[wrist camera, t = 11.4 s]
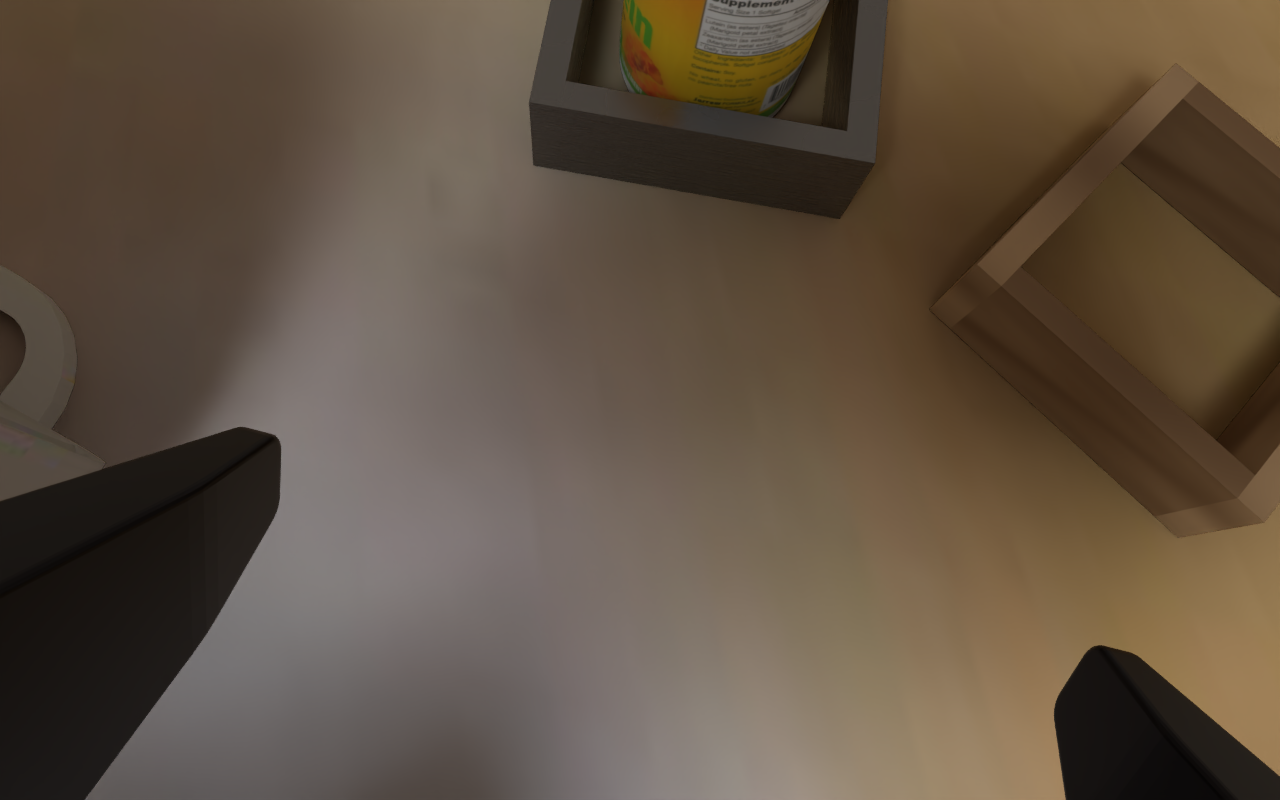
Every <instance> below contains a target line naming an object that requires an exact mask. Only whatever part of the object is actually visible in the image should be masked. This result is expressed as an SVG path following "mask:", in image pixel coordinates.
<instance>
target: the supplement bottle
mask: <svg viewBox="0 0 1280 800" xmlns="http://www.w3.org/2000/svg"><path fill="white" fill-rule="evenodd" d="M828 2H829V0H624V1H623V12H622V22H621V31H620V48H619V59H620V67H621V72H622V75H623V78H624V81H625V83H626V86H627V88H628V90H629V92H630V93H636V94H642V95H647V96H653V97H659V98H664V99H670V100H675V101H681V102H687V103H692V104H698V105H703V106H709V107H715V108H720V109H726V110H731V111H737V112H743V113H748V114H754V115H759V116H765V117H771V118H772V117H773V116H774V115H775V114H776V113H777V112H778V111H779V110H780V109H781V108H782V106H783V105H784V103H785V102H786V100H787V99H788V97H789V95H790V93H791V91H792V89H793V87H794V85H795V83H796V80H797V78H798V76H799V74H800V71H801V69H802V66H803V64H804V62H805V59H806V57H807V54H808V52H809V49H810V46H811V44H812V42H813V39H814V37H815V34H816V32H817V29H818V27H819V25H820V22H821V20H822V17H823V15H824V12H825V10H826V7H827V5H828Z"/></svg>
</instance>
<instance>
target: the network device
mask: <svg viewBox="0 0 1280 800" xmlns="http://www.w3.org/2000/svg"><path fill="white" fill-rule="evenodd" d="M0 310H1V311H3V312H4V313H6V314H8V315H10V316H11V317H12V318H14V319H15V320H16V322H17V323H18V324H19V325H20V326H21V329H22V331H23V333H24V335H25V342H26V351H25V358H24V360H23V363H22V365H21V368H20V369H19V371H18V372H17V374H16V375H15V377H14V378H13V379H12V381H11V382H10V383H9V384H8V386H7V387H6V388H5V389H4V391H3V392H2V393H1V394H0V501H2V500H5V499H8V498H11V497H15V496H18V495H21V494H24V493H28V492H31V491H34V490H37V489H40V488H44V487H47V486H50V485H53V484H57V483H60V482H63V481H66V480H69V479H73V478H76V477H79V476H82V475H86V474H89V473H92V472H95V471H98V470H101V469H102V468H103V467H104V465H105V464H106V463H105V462H104V461H103V460H102V459H100V458H99V457H97V456H96V455H94V454H93V453H91V452H90V451H88V450H86V449H85V448H83V447H81V446H80V445H78V444H76V443H74V442H73V441H71V440H69V439H67V438H66V437H64V436H62V435H60V434H59V433H57V432H55V431H53V430H52V428H53V426H54V425H55V423H56V422H57V420H58V419H59V417H60V416H61V414H62V412H63V411H64V409H65V408H66V405H67V402H68V400H69V397H70V395H71V392H72V389H73V387H74V384H75V376H76V368H77V360H78V359H77V352H76V345H75V338H74V334H73V332H72V330H71V327H70V325H69V323H68V321H67V319H66V316H65V314H64V313H63V312H62V311H61V309H60V308H59V307H58V306H57V305H56V303H55V302H54V301H53V300H52V299H51V298H50V297H49V296H48V295H46V294H45V293H44V292H42V291H41V290H39V289H38V288H37V287H35V286H34V285H32V284H31V283H30V282H28V281H27V280H25V279H24V278H22V277H21V276H19V275H17V274H16V273H14V272H12V271H10V270H9V269H7V268H5V267H3V266H1V265H0Z"/></svg>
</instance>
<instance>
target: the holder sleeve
mask: <svg viewBox="0 0 1280 800" xmlns="http://www.w3.org/2000/svg"><path fill="white" fill-rule="evenodd" d="M1120 163H1122V164H1123V165H1125V166H1126V167H1127V168H1128V169H1129V170H1131V171H1132V172H1133V173H1134V174H1135V175H1136V176H1138V177H1139V178H1140V179H1141V180H1142V181H1143V182H1145V183H1146V184H1147V185H1148V186H1149V187H1151V188H1152V189H1153V190H1154V191H1155V192H1156V193H1158V194H1159V195H1160V196H1161V197H1162V198H1163V199H1165V200H1166V201H1167V202H1168V203H1169V204H1171V205H1172V206H1173V207H1174V208H1175V209H1176V210H1178V211H1179V212H1180V213H1181V214H1182V215H1183V216H1185V217H1186V218H1187V219H1188V220H1189V221H1191V222H1192V223H1193V224H1194V225H1195V226H1196V227H1198V228H1199V229H1200V230H1201V231H1202V232H1203V233H1205V234H1206V235H1207V236H1208V237H1209V238H1211V239H1212V240H1213V241H1214V242H1215V243H1216V244H1218V245H1219V246H1220V247H1221V248H1222V249H1223V250H1225V251H1226V252H1227V253H1228V254H1229V255H1231V256H1232V257H1233V258H1234V259H1235V260H1236V261H1238V262H1239V263H1240V264H1241V265H1242V266H1243V267H1245V268H1246V269H1247V270H1248V271H1249V272H1251V273H1252V274H1253V275H1254V276H1255V277H1256V278H1258V279H1259V280H1260V281H1261V282H1262V283H1263V284H1265V285H1266V286H1267V287H1268V288H1269V289H1270V290H1272V291H1273V292H1274V293H1275V294H1276V295H1278V296H1279V297H1280V148H1279V147H1278V146H1276V145H1275V144H1274V143H1273V142H1272V141H1270V140H1269V139H1268V138H1267V137H1265V136H1264V135H1263V134H1262V133H1261V132H1259V131H1258V130H1257V129H1256V128H1254V127H1253V126H1252V125H1251V124H1250V123H1248V122H1247V121H1246V120H1245V119H1244V118H1242V117H1241V116H1240V115H1239V114H1237V113H1236V112H1235V111H1234V110H1233V109H1231V108H1230V107H1229V106H1228V105H1226V104H1225V103H1224V102H1223V101H1222V100H1220V99H1219V98H1218V97H1217V96H1215V95H1214V94H1213V93H1212V92H1211V91H1209V90H1208V89H1207V88H1206V87H1204V86H1203V85H1202V84H1201V83H1200V82H1198V81H1197V80H1196V79H1195V78H1194V77H1192V76H1191V75H1190V74H1189V73H1187V72H1186V71H1185V70H1184V69H1183V68H1181V67H1180V66H1179V65H1178V64H1175V65H1174V66H1172V67H1171V68H1170V69H1169V70H1168V71H1167V72H1166V73H1165V74H1164V75H1163V76H1162V77H1161V78H1160V79H1159V80H1158V81H1157V82H1156V83H1155V84H1154V85H1153V86H1152V87H1151V88H1149V89H1148V90H1147V91H1146V92H1145V93H1144V94H1143V95H1142V96H1141V97H1140V98H1139V99H1138V100H1137V101H1136V102H1135V103H1134V104H1133V105H1132V106H1131V107H1130V108H1129V109H1128V110H1127V111H1125V112H1124V113H1123V114H1122V115H1121V116H1120V117H1119V118H1118V119H1117V120H1116V121H1115V122H1114V123H1113V124H1112V125H1111V126H1110V127H1109V128H1108V129H1107V130H1106V131H1105V132H1104V133H1103V134H1102V135H1101V136H1100V137H1099V138H1098V139H1097V140H1096V141H1095V142H1094V143H1093V144H1092V145H1091V146H1090V147H1089V148H1088V149H1087V150H1086V151H1085V152H1084V153H1083V154H1082V155H1081V156H1080V157H1079V158H1078V159H1077V160H1076V161H1075V162H1074V163H1073V164H1072V165H1071V166H1070V167H1069V168H1068V169H1067V170H1066V171H1065V172H1064V173H1063V174H1062V175H1061V176H1060V177H1059V178H1058V179H1057V180H1056V181H1055V182H1054V183H1053V184H1052V185H1051V186H1050V187H1049V188H1048V189H1047V190H1046V191H1045V193H1044V194H1043V195H1042V196H1041V197H1040V198H1039V199H1038V200H1037V201H1036V202H1035V203H1034V204H1033V205H1032V206H1031V207H1030V208H1029V209H1028V210H1027V211H1026V212H1025V213H1024V214H1023V215H1022V216H1021V217H1020V218H1019V219H1018V220H1017V221H1016V222H1015V223H1014V224H1013V225H1012V226H1011V227H1010V228H1009V229H1008V230H1007V231H1006V232H1005V233H1004V234H1003V235H1002V236H1001V237H1000V238H999V239H998V240H997V241H996V242H995V243H994V244H993V245H992V246H991V247H990V248H989V249H988V250H987V251H986V252H985V253H984V254H983V255H982V256H981V257H980V258H979V259H978V260H977V261H976V262H975V263H974V264H973V265H972V266H971V267H970V268H969V269H968V270H967V271H966V272H965V273H964V274H963V275H962V276H961V277H960V278H959V279H958V280H957V281H956V282H955V283H954V284H953V285H952V286H951V287H950V289H949V290H948V291H947V292H946V293H945V294H944V295H943V296H942V297H941V298H940V299H939V300H938V301H937V302H936V303H935V304H934V305H933V306H932V307H931V308H930V309H929V310H930V311H932V312H933V313H934V314H935V315H936V316H937V317H938V318H939V319H940V320H941V321H942V322H944V323H945V324H946V325H947V326H948V327H949V328H950V329H951V330H952V331H953V332H954V333H956V334H957V335H958V336H959V337H960V338H961V339H962V340H963V341H964V342H965V343H966V344H968V345H969V346H970V347H971V348H972V349H973V350H974V351H975V352H976V353H977V354H978V355H979V356H981V357H982V358H983V359H984V360H985V361H986V362H987V363H988V364H989V365H990V366H991V367H993V368H994V369H995V370H996V371H997V372H998V373H999V374H1000V375H1001V376H1002V377H1003V378H1005V379H1006V380H1007V381H1008V382H1009V383H1010V384H1011V385H1012V386H1013V387H1014V388H1015V389H1017V390H1018V391H1019V392H1020V393H1021V394H1022V395H1023V396H1024V397H1025V398H1026V399H1027V400H1029V401H1030V402H1031V403H1032V404H1033V405H1034V406H1035V407H1036V408H1037V409H1038V410H1039V411H1040V412H1042V413H1043V414H1044V415H1045V416H1046V417H1047V418H1048V419H1049V420H1050V421H1051V422H1052V423H1054V424H1055V425H1056V426H1057V427H1058V428H1059V429H1060V430H1061V431H1062V432H1063V433H1064V434H1066V435H1067V436H1068V437H1069V438H1070V439H1071V440H1072V441H1073V442H1074V443H1075V444H1076V445H1078V446H1079V447H1080V448H1081V449H1082V450H1083V451H1084V452H1085V453H1086V454H1087V455H1088V456H1090V457H1091V458H1092V459H1093V460H1094V461H1095V462H1096V463H1097V464H1098V465H1099V466H1100V467H1102V468H1103V469H1104V470H1105V471H1106V472H1107V473H1108V474H1109V475H1110V476H1111V477H1112V478H1113V479H1115V480H1116V481H1117V482H1118V483H1119V484H1120V485H1121V486H1122V487H1123V488H1124V489H1125V490H1127V491H1128V492H1129V493H1130V494H1131V495H1132V496H1133V497H1134V498H1135V499H1136V500H1137V501H1139V502H1140V503H1141V504H1142V505H1143V506H1144V507H1145V508H1146V509H1147V510H1148V511H1149V512H1151V513H1152V514H1153V515H1154V516H1155V517H1156V518H1157V519H1158V520H1159V521H1160V522H1161V523H1163V524H1164V525H1165V526H1166V527H1167V528H1168V529H1169V530H1170V531H1171V532H1172V533H1173V534H1175V535H1176V536H1177V537H1178V538H1180V537H1186V536H1191V535H1197V534H1202V533H1208V532H1214V531H1219V530H1225V529H1231V528H1236V527H1242V526H1248V525H1253V524H1259V523H1264V522H1265V521H1266V520H1267V518H1268V517H1269V516H1270V515H1271V513H1272V512H1273V511H1274V509H1275V508H1276V507H1277V505H1278V504H1279V503H1280V363H1279V364H1278V365H1277V366H1276V368H1275V369H1274V370H1273V371H1272V373H1271V374H1270V375H1269V376H1268V377H1267V379H1266V380H1265V381H1264V382H1263V384H1262V385H1261V386H1260V387H1259V389H1258V390H1257V391H1256V392H1255V394H1254V395H1253V396H1252V397H1251V398H1250V400H1249V401H1248V402H1247V403H1246V405H1245V406H1244V407H1243V408H1242V410H1241V411H1240V412H1239V413H1238V415H1237V416H1236V417H1235V418H1234V419H1233V421H1232V422H1231V423H1230V424H1229V426H1228V427H1227V428H1226V429H1225V431H1224V432H1223V433H1222V434H1221V435H1220V437H1219V438H1218V439H1217V440H1215V439H1214V438H1213V437H1212V436H1211V435H1209V434H1208V433H1207V432H1206V431H1205V430H1204V429H1203V428H1202V427H1200V426H1199V425H1198V424H1197V423H1196V422H1195V421H1194V420H1193V419H1191V418H1190V417H1189V416H1188V415H1187V414H1186V413H1185V412H1184V411H1182V410H1181V409H1180V408H1179V407H1178V406H1177V405H1176V404H1175V403H1173V402H1172V401H1171V400H1170V399H1169V398H1168V397H1167V396H1166V395H1165V394H1163V393H1162V392H1161V391H1160V390H1159V389H1158V388H1157V387H1156V386H1154V385H1153V384H1152V383H1151V382H1150V381H1149V380H1148V379H1147V378H1145V377H1144V376H1143V375H1142V374H1141V373H1140V372H1139V371H1138V370H1136V369H1135V368H1134V367H1133V366H1132V365H1131V364H1130V363H1129V362H1127V361H1126V360H1125V359H1124V358H1123V357H1122V356H1121V355H1120V354H1118V353H1117V352H1116V351H1115V350H1114V349H1113V348H1112V347H1111V346H1110V345H1108V344H1107V343H1106V342H1105V341H1104V340H1103V339H1102V338H1101V337H1099V336H1098V335H1097V334H1096V333H1095V332H1094V331H1093V330H1092V329H1090V328H1089V327H1088V326H1087V325H1086V324H1085V323H1084V322H1083V321H1081V320H1080V319H1079V318H1078V317H1077V316H1076V315H1075V314H1074V313H1072V312H1071V311H1070V310H1069V309H1068V308H1067V307H1066V306H1065V305H1063V304H1062V303H1061V302H1060V301H1059V300H1058V299H1057V298H1056V297H1054V296H1053V295H1052V294H1051V293H1050V292H1049V291H1048V290H1047V289H1046V288H1044V287H1043V286H1042V285H1041V284H1040V283H1039V282H1038V281H1037V280H1035V279H1034V278H1033V277H1032V276H1031V275H1030V274H1029V273H1028V272H1026V271H1025V270H1024V269H1023V268H1022V267H1021V265H1022V264H1023V263H1024V262H1025V261H1026V260H1027V259H1028V258H1029V257H1030V256H1031V255H1032V254H1033V253H1034V252H1035V251H1036V250H1037V249H1038V248H1039V247H1040V246H1041V245H1042V244H1043V242H1044V241H1045V240H1046V239H1047V238H1048V237H1049V236H1050V235H1051V234H1052V233H1053V232H1054V231H1055V230H1056V229H1057V228H1058V227H1059V226H1060V225H1061V224H1062V223H1063V222H1064V221H1065V220H1066V219H1067V218H1068V217H1069V216H1070V215H1071V214H1072V212H1073V211H1074V210H1075V209H1076V208H1077V207H1078V206H1079V205H1080V204H1081V203H1082V202H1083V201H1084V200H1085V199H1086V198H1087V197H1088V196H1089V195H1090V194H1091V193H1092V192H1093V191H1094V190H1095V189H1096V188H1097V187H1098V186H1099V185H1100V184H1101V183H1102V181H1103V180H1104V179H1105V178H1106V177H1107V176H1108V175H1109V174H1110V173H1111V172H1112V171H1113V170H1114V169H1115V168H1116V167H1117V166H1118V165H1119V164H1120Z"/></svg>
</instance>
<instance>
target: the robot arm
mask: <svg viewBox="0 0 1280 800" xmlns="http://www.w3.org/2000/svg"><path fill="white" fill-rule="evenodd" d="M280 474H281V445H280V441H279V439H278V438H277V437H276V436H275V435H273V434H269V433H266V432H262V431H258V430H254V429H250V428H246V427H237V428H234V429H230V430H227V431H224V432H221V433H217V434H214V435H211V436H208V437H205V438H201V439H198V440H195V441H192V442H189V443H185V444H182V445H179V446H176V447H172V448H169V449H166V450H163V451H160V452H156V453H153V454H150V455H147V456H144V457H140V458H137V459H134V460H131V461H127V462H124V463H121V464H118V465H115V466H111V467H108V468H105V469H102V470H98V471H95V472H92V473H89V474H86V475H82V476H79V477H76V478H73V479H69V480H66V481H63V482H60V483H57V484H53V485H50V486H47V487H44V488H40V489H37V490H34V491H31V492H28V493H24V494H21V495H18V496H15V497H11V498H8V499H5V500H2V501H0V800H85V798H86V797H87V796H88V794H89V793H90V792H91V790H92V789H93V788H94V786H95V785H96V784H97V782H98V781H99V780H100V778H101V777H102V775H103V774H104V773H105V771H106V770H107V769H108V767H109V766H110V765H111V763H112V762H113V761H114V759H115V758H116V757H117V755H118V754H119V753H120V751H121V750H122V748H123V747H124V746H125V744H126V743H127V742H128V740H129V739H130V738H131V736H132V735H133V734H134V732H135V731H136V730H137V728H138V727H139V726H140V724H141V723H142V721H143V720H144V719H145V717H146V716H147V715H148V713H149V712H150V711H151V709H152V708H153V707H154V705H155V704H156V703H157V701H158V700H159V699H160V697H161V696H162V694H163V693H164V692H165V690H166V689H167V688H168V686H169V685H170V684H171V682H172V681H173V680H174V678H175V677H176V676H177V674H178V673H179V671H180V670H181V669H182V667H183V666H184V665H185V663H186V662H187V661H188V659H189V658H190V657H191V655H192V654H193V653H194V651H195V650H196V648H197V647H198V645H199V644H200V643H201V641H202V640H203V638H204V637H205V635H206V634H207V632H208V631H209V629H210V628H211V626H212V624H213V623H214V621H215V619H216V618H217V616H218V615H219V613H220V611H221V609H222V608H223V606H224V604H225V602H226V601H227V599H228V597H229V595H230V594H231V592H232V590H233V588H234V587H235V585H236V583H237V582H238V580H239V578H240V576H241V575H242V573H243V571H244V569H245V568H246V566H247V564H248V562H249V561H250V559H251V557H252V556H253V554H254V552H255V550H256V549H257V547H258V545H259V543H260V542H261V540H262V538H263V536H264V535H265V533H266V531H267V530H268V528H269V526H270V524H271V523H272V521H273V519H274V517H275V514H276V512H277V509H278V505H279V500H280ZM1054 722H1055V729H1056V736H1057V743H1058V749H1059V756H1060V763H1061V770H1062V777H1063V784H1064V791H1065V798H1066V800H1280V776H1279V775H1277V774H1276V773H1275V772H1274V771H1273V770H1272V769H1270V768H1269V767H1268V766H1267V765H1266V764H1265V763H1263V762H1262V761H1261V760H1260V759H1259V758H1257V757H1256V756H1255V755H1254V754H1253V753H1252V752H1250V751H1249V750H1248V749H1247V748H1246V747H1244V746H1243V745H1242V744H1241V743H1240V742H1239V741H1237V740H1236V739H1235V738H1234V737H1233V736H1232V735H1230V734H1229V733H1228V732H1227V731H1226V730H1224V729H1223V728H1222V727H1221V726H1220V725H1219V724H1217V723H1216V722H1215V721H1214V720H1213V719H1212V718H1210V717H1209V716H1208V715H1207V714H1206V713H1204V712H1203V711H1202V710H1201V709H1200V708H1199V707H1197V706H1196V705H1195V704H1194V703H1193V702H1191V701H1190V700H1189V699H1188V698H1187V697H1186V696H1184V695H1183V694H1182V693H1181V692H1180V691H1179V690H1177V689H1176V688H1175V687H1174V686H1173V685H1171V684H1170V683H1169V682H1168V681H1167V680H1166V679H1164V678H1163V677H1162V676H1161V675H1160V674H1158V673H1157V672H1156V671H1155V670H1154V669H1153V668H1151V667H1150V666H1149V665H1148V664H1147V663H1146V662H1144V661H1143V660H1142V659H1141V658H1140V657H1138V656H1137V655H1135V654H1133V653H1130V652H1126V651H1122V650H1118V649H1114V648H1110V647H1106V646H1102V645H1098V646H1094V647H1092V648H1090V649H1089V650H1088V651H1087V652H1086V653H1085V655H1084V656H1083V658H1082V659H1081V661H1080V662H1079V664H1078V665H1077V667H1076V669H1075V670H1074V672H1073V673H1072V675H1071V676H1070V678H1069V679H1068V681H1067V683H1066V684H1065V686H1064V687H1063V689H1062V690H1061V692H1060V693H1059V696H1058V698H1057V700H1056V703H1055V709H1054Z"/></svg>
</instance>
